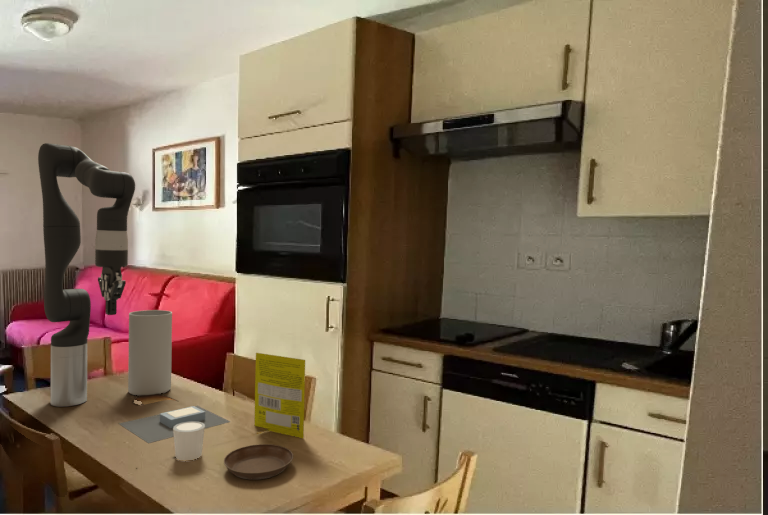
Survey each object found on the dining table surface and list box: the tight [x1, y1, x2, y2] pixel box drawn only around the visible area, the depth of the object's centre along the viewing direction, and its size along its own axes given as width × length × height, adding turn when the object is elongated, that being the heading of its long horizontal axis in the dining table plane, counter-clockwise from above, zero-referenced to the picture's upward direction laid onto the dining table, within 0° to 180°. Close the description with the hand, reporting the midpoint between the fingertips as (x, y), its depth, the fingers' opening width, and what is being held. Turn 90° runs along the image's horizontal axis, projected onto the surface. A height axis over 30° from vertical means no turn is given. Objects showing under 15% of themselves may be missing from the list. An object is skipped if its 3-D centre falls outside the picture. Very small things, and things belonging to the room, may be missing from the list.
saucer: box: [223, 443, 294, 481], centre depth 117 cm, size 15×15×3 cm
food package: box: [253, 352, 306, 439], centre depth 137 cm, size 15×1×20 cm, turn 65°
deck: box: [159, 405, 205, 428], centre depth 143 cm, size 6×2×10 cm
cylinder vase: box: [127, 309, 173, 397], centre depth 170 cm, size 12×12×25 cm
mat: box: [118, 405, 231, 444], centre depth 141 cm, size 18×22×1 cm
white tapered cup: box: [173, 421, 206, 461], centre depth 122 cm, size 7×7×7 cm
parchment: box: [134, 394, 178, 406], centre depth 156 cm, size 25×10×1 cm, turn 47°
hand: (110, 314), depth 140 cm, fingers closed
